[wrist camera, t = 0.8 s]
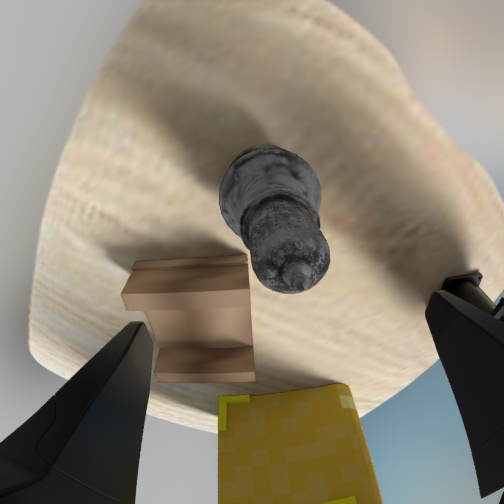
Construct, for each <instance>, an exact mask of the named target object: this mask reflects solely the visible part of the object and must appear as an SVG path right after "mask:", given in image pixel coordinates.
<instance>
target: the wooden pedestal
mask: <svg viewBox="0 0 504 504" xmlns="http://www.w3.org/2000/svg"><path fill="white" fill-rule="evenodd" d="M132 270H133V271H132V273H131V275H130V277H129V279H128V281H127V283H126V285H125V287H124V289H123V291H122V293H121V297H122V299H123V302H124V305H125V307H126V310H127V311H146V314H147V316H148V319H149V322H150V325H151V327H152V330H153V333H154V335H155V338H156V341H157V343H158V346H159V348H160V349H159V354H158V358H157V362H156V366H155V371H154V374H155V376H156V378H157V380H158V382H168V383H230V382H251V381H255V367H254V353H253V338H252V322H251V303H250V287H249V273H248V258H247V255H235V256H218V257H202V258H186V259H170V260H153V261H137V262H135V264H134V265H133V267H132Z"/></svg>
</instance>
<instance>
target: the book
mask: <svg viewBox="0 0 504 504" xmlns="http://www.w3.org/2000/svg"><path fill="white" fill-rule="evenodd" d="M218 504H383V502H382V497H381V493H380V489H379V485H378V482H377V478H376V475H375V470H374V467H373V463H372V459H371V456H370V452H369V449H368V446H367V442H366V439H365V435H364V432H363V428H362V425H361V422H360V419H359V415H358V412H357V409H356V406H355V403H354V399H353V396H352V393H351V390H350V388H349V386H348V385H345V384H331V385H326V386H320V387H315V388H309V389H303V390H296V391H290V392H282V393H275V394H266V395H257V396H250V395H249V394H247V395H234V396H218Z"/></svg>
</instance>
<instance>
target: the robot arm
mask: <svg viewBox="0 0 504 504" xmlns="http://www.w3.org/2000/svg"><path fill="white" fill-rule="evenodd" d="M482 277H483V275H482V274H481V273H475V274H469V275H463V276H457V277H451V278H447V279H446V280H445V282H444V284H443V287H442V290H439V291H434V292H433V293H432V294H431V297H430V299H429V302H428V305H427V308H426V311H425V317H426V320H427V323H428V326H429V329H430V332H431V334H432V337H433V340H434V343H435V346H436V350H437V352H438V355H439V358H440V360H441V363H442V365H443V368H444V370H445V373H446V375H447V378H448V380H449V383H450V385H451V388H452V391H453V393H454V396H455V399H456V402H457V405H458V408H459V411H460V414H461V416H462V420H463V423H464V427H465V430H466V433H467V437H468V440H469V444H470V448H471V452H472V456H473V461H474V465H475V469H476V474H477V479H478V485H479V490H480V496H481V498H484V497H486V496H488V495H490V494H492V493H494V492H496V491H498V490H500V489H501V488H503V487H504V298H503V297H502V298H501V299H500V302H499V303H498V305H497V306H496V305H495V304H494V303H493V302H492V301H491V299H490V298H489V297H488V296H487V295H486V294H485V293H484V292H483V291H482V290H481V289H480V287H479V285H480V282H481V279H482ZM152 353H153V343H152V339H151V337H150V335H149V332H148V330H147V327H146V325H145V323H144V322H141V321H135V322H130V323H128V324H127V325H126V326H125V327H124V328H123V329H122V330H121V331H120V332H119V333H118V334H117V335H116V336H114V337H113V338H112V339H111V340H110V341H109V342H108V343H107V344H106V345H105V346H104V347H103V348H102V349H101V350H100V351H99V352H97V353H96V354H95V355H94V356H93V357H92V358H91V359H90V360H89V361H88V362H87V363H86V364H85V365H84V366H83V367H82V368H81V369H80V370H79V371H78V372H77V373H76V374H75V375H74V376H73V377H71V378H70V379H69V380H68V381H67V383H65V384H64V386H62V387H61V388H60V389H59V390H58V391H57V392H56V393H55V395H53V396H52V397H51V398H50V399H49V400H48V401H47V402H46V403H45V404H44V405H43V406H42V407H41V408H40V409H39V410H38V411H37V412H36V413H35V414H33V415H32V416H31V417H30V418H29V419H28V420H27V421H26V422H24V423H23V424H22V425H21V426H20V427H18V428H17V429H16V430H15V431H14V432H13V433H11V434H10V435H9V436H8V437H7V438H5V439H4V440H3V441H2V442H0V504H135V496H136V485H137V476H138V467H139V459H140V451H141V443H142V436H143V429H144V423H145V416H146V410H147V404H148V399H149V392H150V379H151V365H152ZM499 504H504V492H503V494H502V497H501V500H500V502H499Z"/></svg>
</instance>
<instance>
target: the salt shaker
mask: <svg viewBox="0 0 504 504" xmlns="http://www.w3.org/2000/svg"><path fill="white" fill-rule="evenodd" d="M320 202H321V189H320V184H319V181H318V178H317V176H316V173H315V172H314V171H313V169H312V168H311V167H310V165H309V164H308V163H307V162H306V161H305V160H303V159H302V158H301V157H299V156H298V155H297V154H294V153H292V152H289V151H287V150H284V149H281V148H278V147H275V146H268V145H262V146H256V147H252V148H250V149H248V150H246V151H244V152H242V153H241V154H240V155H239V156H238V157H236V159H235V160H234V161H233V163H232V164H231V166H230V168H229V170H228V171H227V173H226V174H225V175H224V178H223V181H222V183H221V186H220V190H219V205H220V210H221V214H222V216H223V218H224V220H225V222H226V223H227V225H228V226H229V227H230V228H231V229H232V231H233V232H234V233H235V234H236V235H238V236H240V237H241V239H242V240H243V242H244V244H245V246H246V247H247V248H248V249H249V250H250V254H251V263H252V268H253V271H254V272H255V274H256V276H257V278H258V279H259V281H260V282H261V283H262V284H263V285H264V286H265V287H267V288H269V289H271V290H273V291H276V292H279V293H284V294H295V293H301V292H304V291H306V290H309V289H310V288H312V287H313V286H315V285H316V284H317V283H318V282H319V281H320V280H321V279H322V278H323V277H324V275H325V274H326V272H327V270H328V268H329V264H330V250H329V246H328V243H327V240H326V239H325V237H324V235H323V234H322V232H321V230H320V216H319V213H318V211H319V207H320Z"/></svg>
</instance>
